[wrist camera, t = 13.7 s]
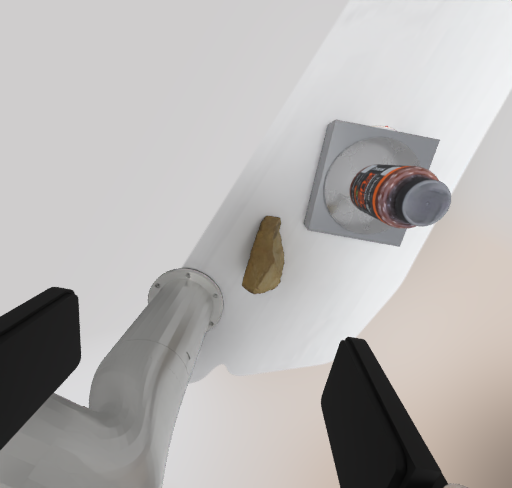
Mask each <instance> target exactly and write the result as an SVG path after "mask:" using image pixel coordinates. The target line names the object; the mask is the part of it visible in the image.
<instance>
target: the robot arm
mask: <svg viewBox="0 0 512 488" xmlns="http://www.w3.org/2000/svg"><path fill="white" fill-rule="evenodd" d="M188 273H189V274H190V275H189V274H188ZM215 293H216V294H215ZM222 310H223V298H222V294H221V292H220V290H219V288H218V286H217V285H216V284H215V282H214V281H213V280H211V279H210V278H209V277H208V276H206V275H205V274H203V273H201V272H199V271H196V270H192V269H184V268H180V269H174V270H171V271H168V272H166V273H164V274H162V275H161V276H160V277H159V278H158V279H157V280H156V281H155V282H154V283H153V285H152V286H151V288H150V291H149V295H148V306H147V307H146V308H145V309H144V310H143V312H142V313H141V314H140V315H139V317H138V318H137V319H136V320H135V321H134V323H133V324H132V325H131V326H130V327H129V329H128V330H127V331H126V332H125V334H124V335H123V336H122V337H121V339H120V340H119V341H118V342H117V343H116V345H115V346H114V347H113V348H112V350H111V351H110V352H109V353H108V354H107V356H106V357H105V358H104V360H103V361H102V362H101V364H100V365H99V367H98V369H97V371H96V373H95V375H94V378H93V381H92V385H91V390H90V396H89V408H87V407H85V406H83V407H82V406H80V405H78V404H76V403H74V402H71V401H70V400H68V399H65V398H63V397H61V396H59V395H57V394H55V393H54V392H55V391H56V390H57V388H58V387H59V386H60V385H61V384H62V383H63V382H64V381H65V380H66V379H67V378H68V376H69V375H70V374H71V373H72V372H73V371H74V370H75V369H76V368H77V366H78V364H79V362H80V359H81V345H80V324H79V304H78V297H77V295H75V294H74V292H73V290H70V289H64V288H59V287H51V288H49V289H47V290H45V291H44V292H42V293H40V294H39V295H37V296H35V297H33V298H32V299H30V300H28V301H27V302H25V303H23V304H22V305H20V306H18V307H16V308H15V309H13V310H11V311H9V312H8V313H6V314H4V315H2V316H1V317H0V488H162V484H163V478H164V472H165V466H166V460H167V455H168V450H169V445H170V440H171V436H172V433H173V429H174V425H175V422H176V418H177V415H178V412H179V408H180V405H181V403H182V400H183V396H184V394H185V391H186V388H187V385H188V382H189V379H190V376H191V373H192V370H193V368H194V365H195V362H196V359H197V356H198V353H199V350H200V347H201V344H202V341H203V339H204V336H205V333H206V332H208V331H209V330H211V329H212V328H213V327H214V326H215V325H216V324H217V323H218V321H219V319H220V317H221V314H222ZM321 407H322V411H323V416H324V420H325V424H326V428H327V433H328V437H329V441H330V445H331V450H332V454H333V458H334V462H335V467H336V471H337V475H338V479H339V483H340V488H468V487H465V486H463V485H460V484H448V483H447V481H446V479H445V478H444V476H443V474H442V473H441V470H440V468H439V466H438V465H437V463H436V462H435V460H434V458H433V456H432V454H431V453H430V451H429V449H428V447H427V446H426V444H425V442H424V441H423V439H422V437H421V435H420V434H419V432H418V430H417V428H416V427H415V425H414V423H413V421H412V420H411V418H410V416H409V415H408V413H407V411H406V409H405V408H404V406H403V404H402V403H401V401H400V399H399V397H398V396H397V394H396V392H395V390H394V389H393V387H392V385H391V384H390V382H389V380H388V378H387V377H386V375H385V373H384V371H383V370H382V368H381V366H380V364H379V363H378V361H377V359H376V358H375V356H374V354H373V352H372V351H371V349H370V347H369V345H368V344H367V342H366V341H365V340H364V339H358V338H352V337H347V338H346V339H345V340H342V341H341V342H340V344H339V347H338V350H337V353H336V356H335V359H334V362H333V365H332V368H331V370H330V373H329V377H328V379H327V382H326V385H325V388H324V391H323V394H322V398H321Z"/></svg>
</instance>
